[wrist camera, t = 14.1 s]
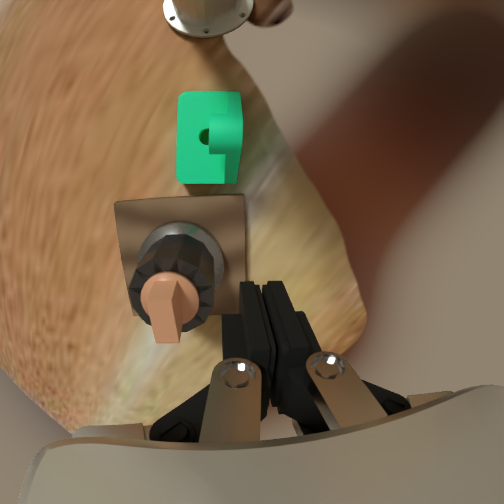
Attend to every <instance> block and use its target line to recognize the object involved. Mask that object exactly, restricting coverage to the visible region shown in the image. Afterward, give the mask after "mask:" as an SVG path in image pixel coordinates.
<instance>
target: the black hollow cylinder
mask: <svg viewBox="0 0 504 504" xmlns="http://www.w3.org/2000/svg"><path fill="white" fill-rule="evenodd" d="M164 271H171V272H176V273H179V274H182V275H184V276H185V277H187V278H188V279H189V280H191V281H192V283H193V284H194V285H195V287H196V288H197V291H198V294H199V307H198V311H197V313H196V315H195V316H194V317H193V318H192V319H191V320H190V321H189V322H187V323H185V324H183V325H182V331H181V332H188V331H190V330H191V329H193V328H195V327H197V326H199V325H201V324H203V323H204V322H205V321H206V319H207V317H208V315H209V314H210V312H211V310H212V309H213V307H214V292H215V291H216V290H217V289H218V287H219V285H220V283H221V281H222V278H223V273H224V259H223V253H222V249H221V247H220V245H219V243H218V241H217V240H216V238H215V237H214V236H213V235H212V234H211V233H210V232H209V231H208V230H207V229H205V228H204V227H202V226H200V225H198V224H196V223H193V222H189V221H171V222H167V223H164V224H162V225H160V226H158V227H157V228H155V229H154V230H153V231H152V232H151V233H150V234H149V235H148V236H147V238H146V239H145V240H144V242H143V243H142V245H141V247H140V249H139V252H138V257H137V268H136V270H135V272H134V275H133V278H132V280H131V283H130V285H129V288H128V289H129V294H130V298H131V303H132V307H133V309H134V310H135V311H136V312H137V313H138V315H139V316H140V317H141V318H142V319H143V320H144V321H145V322H146V324H149V325H151V320H150V316H149V315H148V314H147V313H146V312H145V310H144V309H143V306H142V303H141V291H142V288H143V286H144V284H145V282H146V281H147V280H148V279H149V278H150V277H151V276H152V275H154V274H156V273H159V272H164ZM151 326H152V325H151Z"/></svg>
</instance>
